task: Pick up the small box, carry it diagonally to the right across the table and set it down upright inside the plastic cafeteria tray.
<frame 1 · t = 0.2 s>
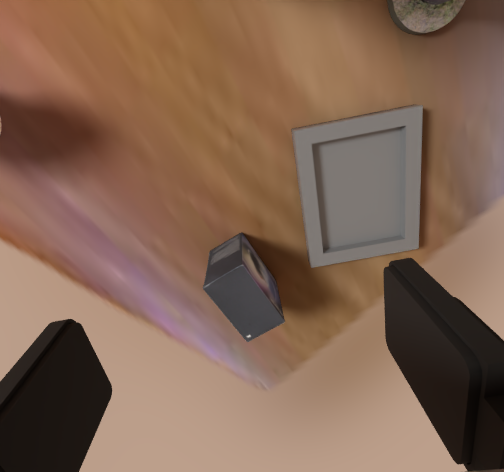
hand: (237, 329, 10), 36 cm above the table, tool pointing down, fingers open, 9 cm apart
tray: (356, 190, 46), on the table
small box: (244, 265, 51), on the table
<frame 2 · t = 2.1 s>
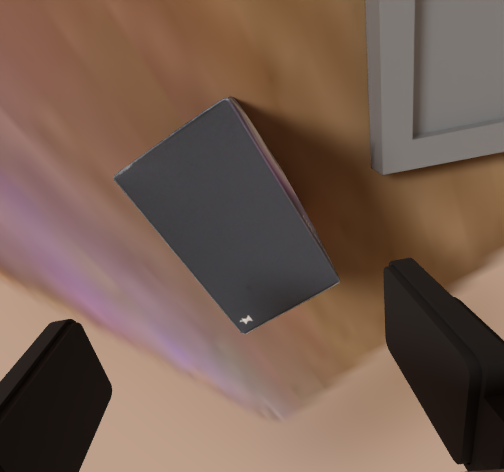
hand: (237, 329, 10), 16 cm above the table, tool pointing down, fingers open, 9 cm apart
small box: (238, 179, 25), on the table
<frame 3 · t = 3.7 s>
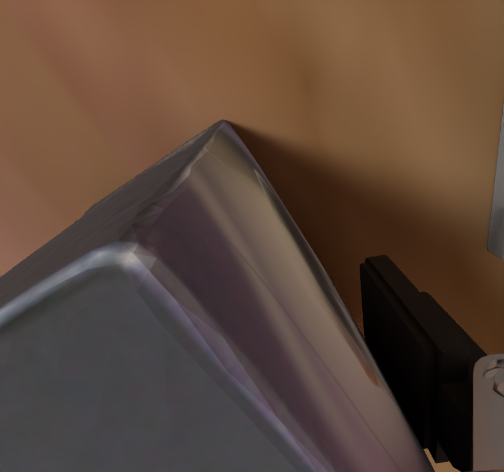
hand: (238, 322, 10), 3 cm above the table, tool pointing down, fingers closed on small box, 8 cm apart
small box: (237, 270, 13), on the table, touching gripper
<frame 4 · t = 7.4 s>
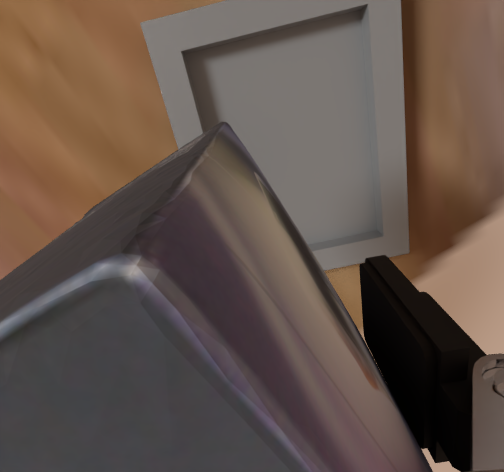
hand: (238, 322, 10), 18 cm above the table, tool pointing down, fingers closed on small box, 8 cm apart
tray: (290, 150, 25), on the table
small box: (237, 271, 13), point 14 cm above the table, touching gripper
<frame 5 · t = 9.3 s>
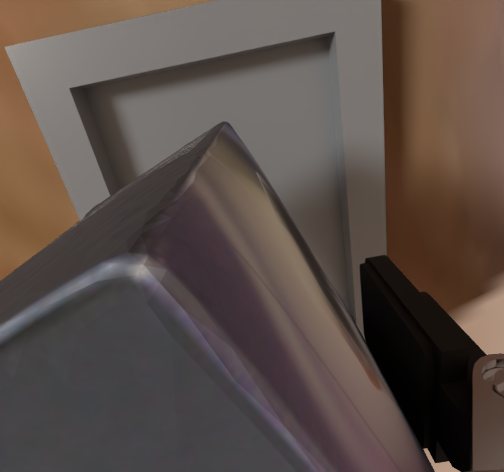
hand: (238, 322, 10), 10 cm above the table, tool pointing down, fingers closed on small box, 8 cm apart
tray: (237, 212, 19), on the table
small box: (238, 271, 13), point 7 cm above the table, touching gripper
when the fingers open (5 cm above the table, at t = 10.9 s): small box stays where it is, resting on tray.
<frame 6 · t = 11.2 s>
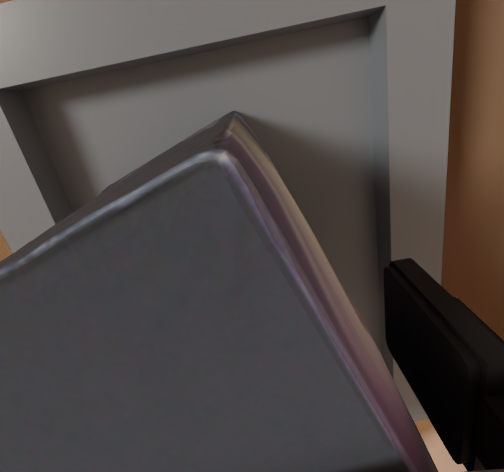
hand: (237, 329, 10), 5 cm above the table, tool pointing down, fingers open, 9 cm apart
tray: (238, 252, 15), on the table
small box: (240, 253, 14), point 1 cm above the table, touching tray
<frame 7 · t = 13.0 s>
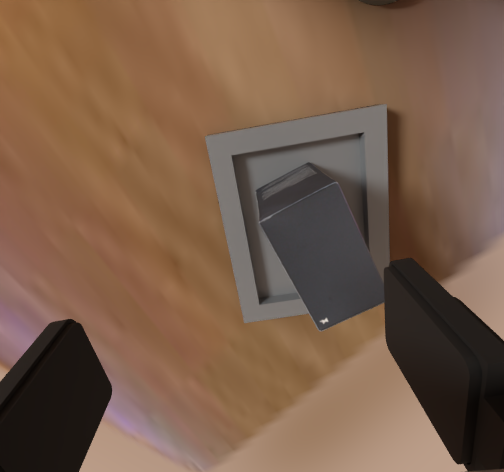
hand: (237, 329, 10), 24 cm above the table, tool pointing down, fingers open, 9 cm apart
tray: (303, 220, 34), on the table
small box: (304, 219, 33), point 1 cm above the table, touching tray
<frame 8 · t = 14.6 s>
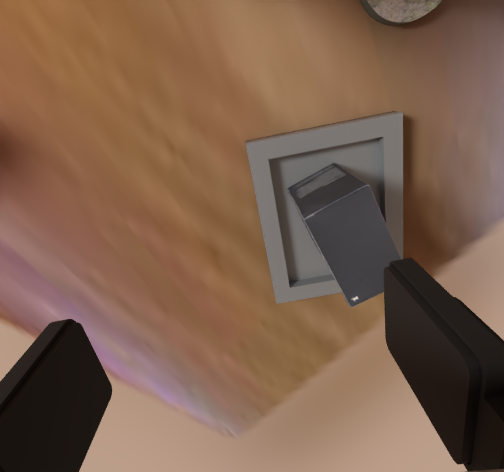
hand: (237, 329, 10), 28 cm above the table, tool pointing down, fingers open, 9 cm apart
tray: (327, 212, 39), on the table
small box: (329, 212, 38), point 1 cm above the table, touching tray
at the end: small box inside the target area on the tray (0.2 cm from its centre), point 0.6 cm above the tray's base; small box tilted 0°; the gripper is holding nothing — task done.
